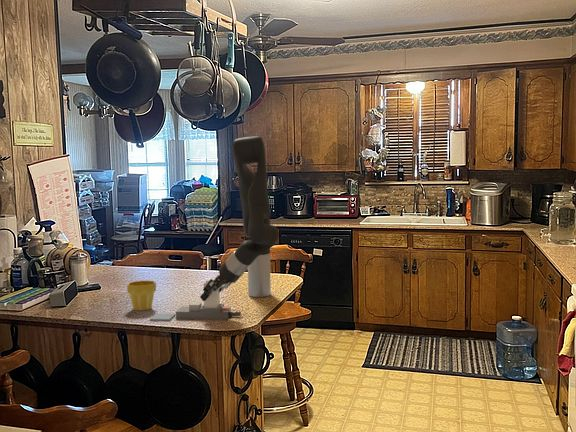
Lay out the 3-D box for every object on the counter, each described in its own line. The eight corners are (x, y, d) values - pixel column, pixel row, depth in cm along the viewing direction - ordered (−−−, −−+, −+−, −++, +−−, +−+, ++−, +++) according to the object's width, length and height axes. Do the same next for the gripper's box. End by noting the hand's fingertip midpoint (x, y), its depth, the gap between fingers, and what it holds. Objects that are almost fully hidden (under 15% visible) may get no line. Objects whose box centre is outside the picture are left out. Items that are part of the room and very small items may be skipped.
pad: (156, 315, 203) (156, 313, 203) (175, 315, 202) (175, 313, 202) (149, 320, 196) (149, 318, 196) (169, 320, 195) (169, 319, 195)
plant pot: (131, 305, 218) (130, 280, 217) (158, 304, 219) (157, 279, 218) (125, 312, 208) (124, 286, 207) (154, 311, 208) (153, 285, 208)
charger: (207, 307, 203) (206, 278, 202) (219, 307, 202) (219, 278, 201) (204, 310, 198) (203, 281, 197) (217, 311, 198) (216, 281, 197)
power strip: (181, 313, 205) (181, 301, 205) (242, 314, 203) (242, 301, 203) (176, 318, 198) (175, 306, 198) (238, 319, 196) (238, 306, 196)
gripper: (239, 255, 201) (213, 285, 208) (216, 261, 189) (188, 293, 196) (252, 271, 199) (225, 300, 206) (229, 278, 187) (201, 309, 194)
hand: (207, 297), depth 201 cm, fingers closed on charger, 6 cm apart
